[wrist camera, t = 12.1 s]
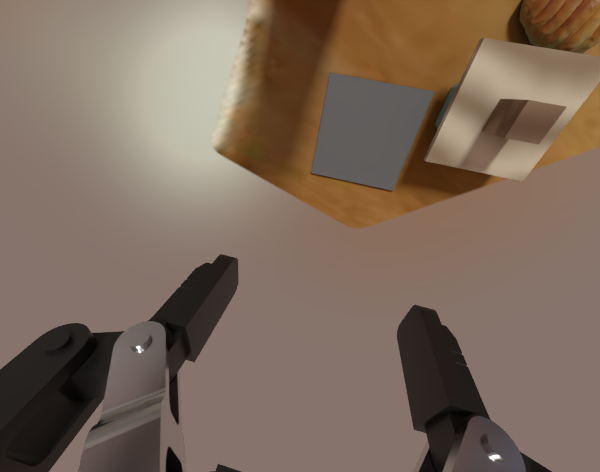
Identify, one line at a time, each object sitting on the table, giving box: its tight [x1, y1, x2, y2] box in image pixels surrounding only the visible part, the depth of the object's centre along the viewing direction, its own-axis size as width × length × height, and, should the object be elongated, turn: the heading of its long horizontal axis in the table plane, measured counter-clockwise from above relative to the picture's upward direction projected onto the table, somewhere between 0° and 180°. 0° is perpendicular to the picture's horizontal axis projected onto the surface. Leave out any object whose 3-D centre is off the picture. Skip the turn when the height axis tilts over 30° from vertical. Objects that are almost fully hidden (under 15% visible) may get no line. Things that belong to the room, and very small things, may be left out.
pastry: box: [519, 0, 600, 54], centre depth 24 cm, size 9×7×4 cm
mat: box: [311, 73, 434, 191], centre depth 36 cm, size 15×15×1 cm
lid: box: [424, 38, 600, 181], centre depth 25 cm, size 13×13×6 cm
